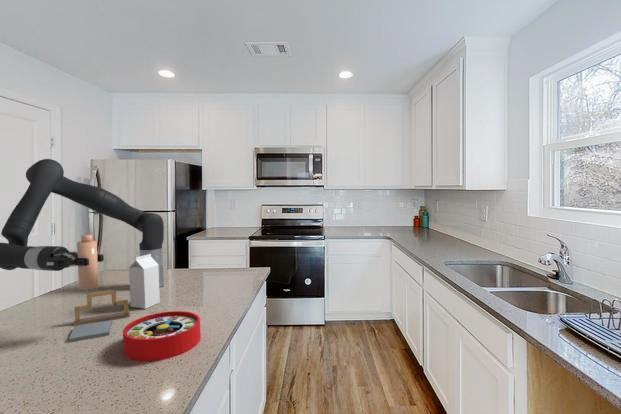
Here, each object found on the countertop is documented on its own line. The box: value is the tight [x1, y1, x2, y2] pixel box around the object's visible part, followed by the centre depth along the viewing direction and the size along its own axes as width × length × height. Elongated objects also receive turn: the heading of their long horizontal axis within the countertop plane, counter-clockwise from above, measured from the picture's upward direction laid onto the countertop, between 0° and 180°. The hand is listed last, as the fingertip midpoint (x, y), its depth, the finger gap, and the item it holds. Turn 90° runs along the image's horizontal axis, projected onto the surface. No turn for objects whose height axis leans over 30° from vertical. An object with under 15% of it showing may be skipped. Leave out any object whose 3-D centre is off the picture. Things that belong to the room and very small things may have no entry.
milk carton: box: [128, 254, 161, 310], centre depth 126 cm, size 7×7×19 cm
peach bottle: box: [76, 234, 99, 291], centre depth 102 cm, size 5×5×16 cm
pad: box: [68, 320, 113, 343], centre depth 103 cm, size 10×10×1 cm
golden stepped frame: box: [72, 289, 131, 327], centre depth 113 cm, size 16×3×10 cm, turn 117°
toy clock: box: [122, 310, 202, 362], centre depth 95 cm, size 20×6×20 cm
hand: (95, 259), depth 101 cm, fingers closed on peach bottle, 5 cm apart
